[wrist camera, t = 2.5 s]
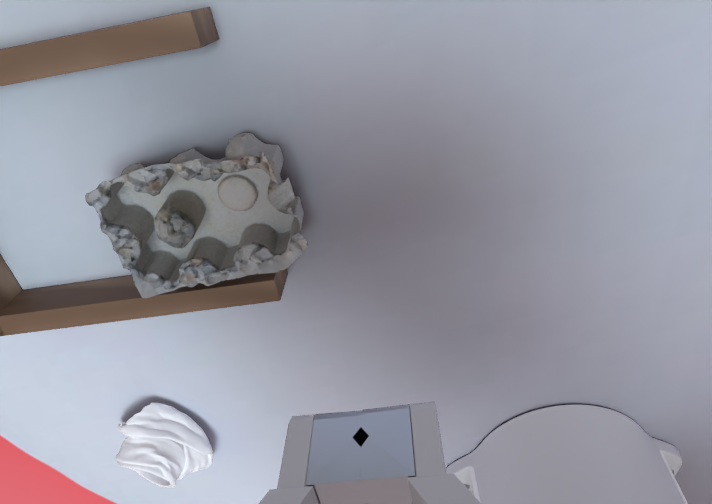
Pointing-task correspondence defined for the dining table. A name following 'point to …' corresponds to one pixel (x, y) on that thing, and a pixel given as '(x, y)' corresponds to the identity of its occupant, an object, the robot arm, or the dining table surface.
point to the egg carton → (202, 217)
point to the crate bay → (119, 294)
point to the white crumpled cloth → (163, 445)
